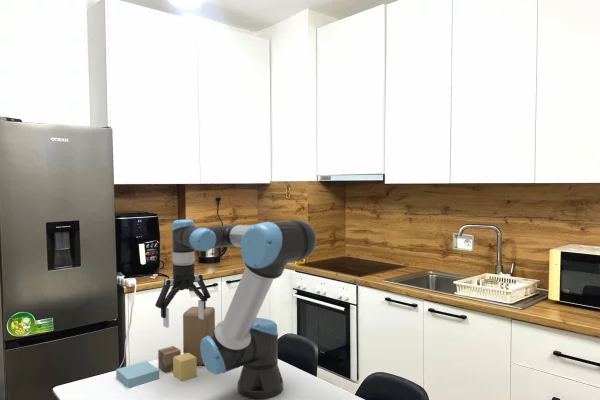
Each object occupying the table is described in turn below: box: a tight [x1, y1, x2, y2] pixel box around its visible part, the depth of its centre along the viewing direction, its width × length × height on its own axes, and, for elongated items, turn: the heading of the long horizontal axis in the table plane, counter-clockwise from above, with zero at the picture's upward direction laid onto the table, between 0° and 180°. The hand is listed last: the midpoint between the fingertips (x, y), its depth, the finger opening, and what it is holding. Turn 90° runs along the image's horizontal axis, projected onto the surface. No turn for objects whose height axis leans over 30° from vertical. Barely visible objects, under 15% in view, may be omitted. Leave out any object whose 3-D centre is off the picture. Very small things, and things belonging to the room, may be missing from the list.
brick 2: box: [172, 353, 198, 382], centre depth 155 cm, size 6×6×7 cm
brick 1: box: [157, 345, 182, 374], centre depth 162 cm, size 6×6×7 cm
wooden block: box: [182, 306, 216, 366], centre depth 169 cm, size 10×10×20 cm
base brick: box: [115, 360, 160, 389], centre depth 154 cm, size 11×11×3 cm
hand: (184, 322), depth 155 cm, fingers open, 13 cm apart
